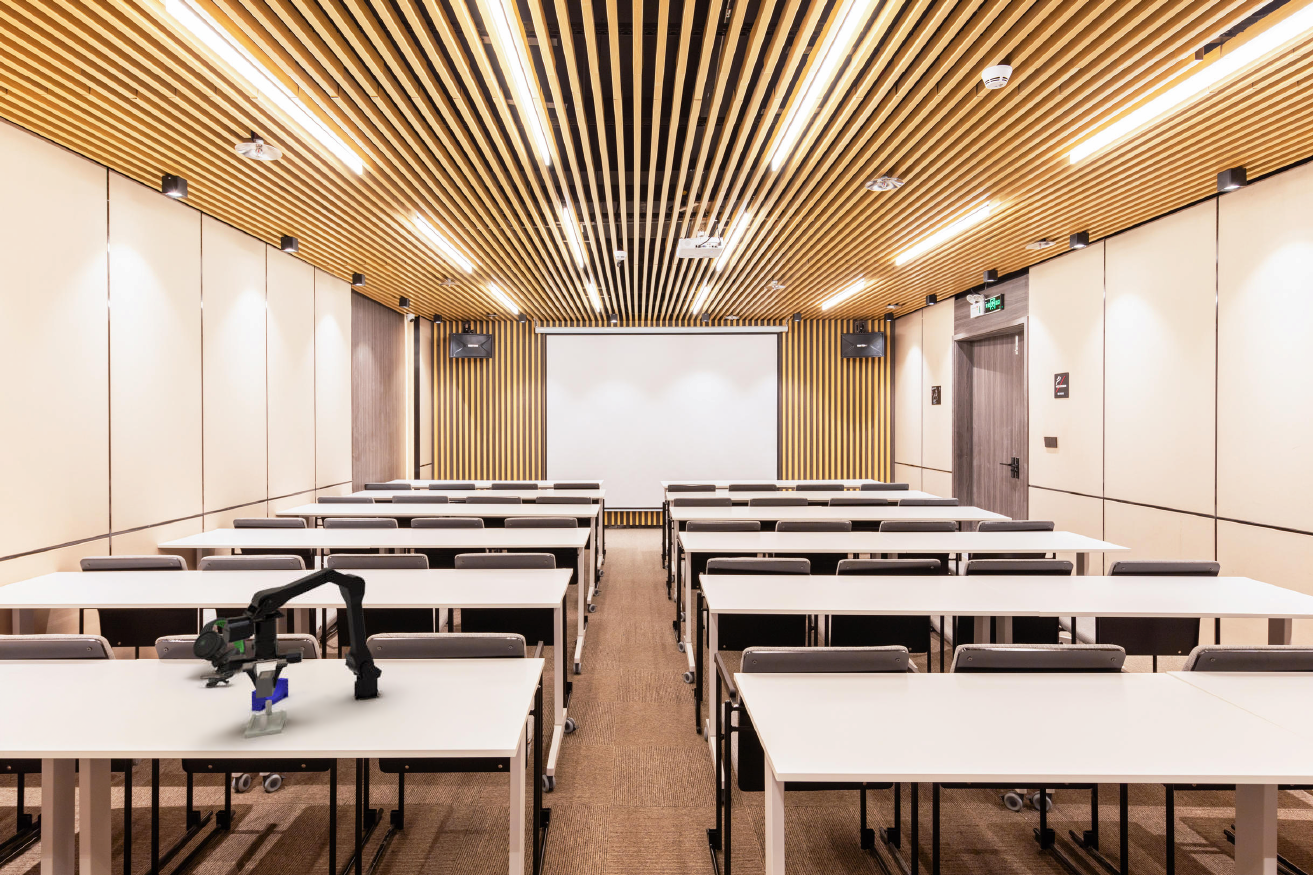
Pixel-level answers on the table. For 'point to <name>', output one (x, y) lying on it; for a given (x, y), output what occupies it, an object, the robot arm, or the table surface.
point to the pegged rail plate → (266, 722)
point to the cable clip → (277, 696)
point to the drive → (265, 684)
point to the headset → (216, 651)
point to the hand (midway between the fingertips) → (266, 688)
